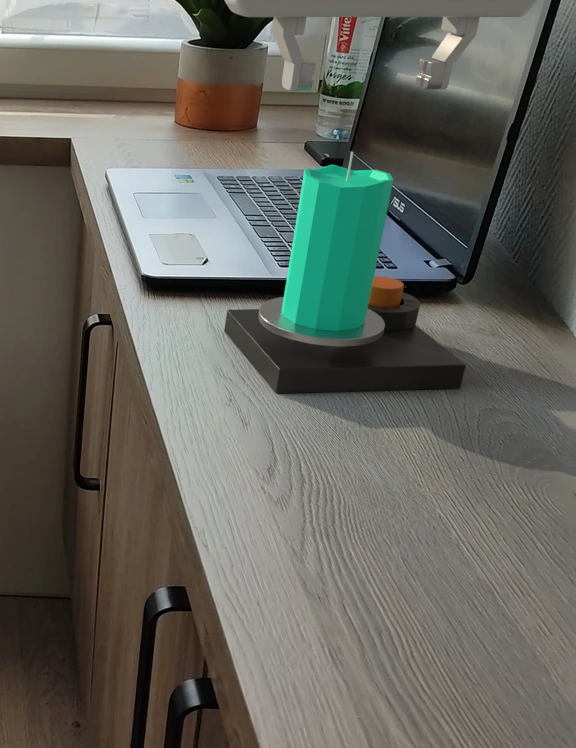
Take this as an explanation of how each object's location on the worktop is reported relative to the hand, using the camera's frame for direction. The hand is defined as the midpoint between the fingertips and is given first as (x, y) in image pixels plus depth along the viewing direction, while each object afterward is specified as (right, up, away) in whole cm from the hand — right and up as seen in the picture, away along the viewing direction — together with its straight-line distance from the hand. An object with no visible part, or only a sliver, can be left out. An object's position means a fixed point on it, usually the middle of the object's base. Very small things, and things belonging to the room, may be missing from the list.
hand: (363, 88), depth 73 cm
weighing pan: (0, -15, +8) cm, 17 cm away
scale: (+2, -17, +11) cm, 20 cm away
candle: (0, -15, +8) cm, 16 cm away
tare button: (+6, -13, +13) cm, 19 cm away
